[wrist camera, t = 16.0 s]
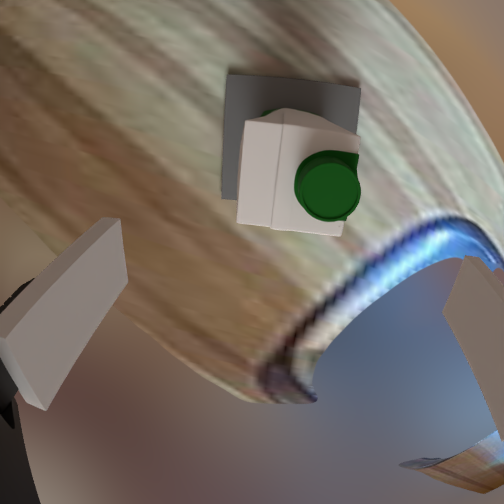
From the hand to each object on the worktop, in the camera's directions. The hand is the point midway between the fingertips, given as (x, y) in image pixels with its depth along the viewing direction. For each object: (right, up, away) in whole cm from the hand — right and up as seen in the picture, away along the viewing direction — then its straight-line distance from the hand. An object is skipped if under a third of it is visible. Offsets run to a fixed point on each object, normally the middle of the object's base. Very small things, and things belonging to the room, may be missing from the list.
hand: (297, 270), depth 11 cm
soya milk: (+3, +14, +26) cm, 30 cm away
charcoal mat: (+3, +14, +27) cm, 31 cm away
